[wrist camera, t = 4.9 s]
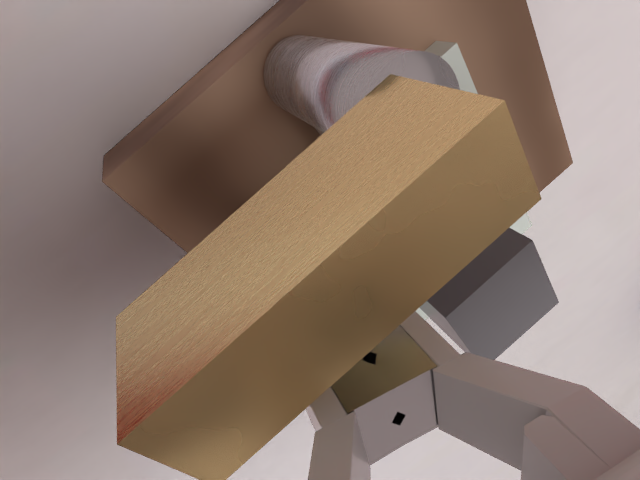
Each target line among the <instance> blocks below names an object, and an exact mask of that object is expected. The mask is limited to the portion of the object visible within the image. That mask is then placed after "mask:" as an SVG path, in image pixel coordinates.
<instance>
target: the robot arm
mask: <svg viewBox="0 0 640 480" xmlns="http://www.w3.org/2000/svg"><path fill="white" fill-rule="evenodd" d="M306 411H307V413H308V415H309V418H310V420H311V423H312V425H313V427H314V429H315V431H316V432H315V437H314V443H313V450H312V456H311V463H310V469H309V476H308V480H370V469H371V468H370V465H372V464H373V463H375V462H376V461H378V460H380V459H381V458H383V457H385V456H386V455H388V454H390V453H391V452H393V451H395V450H396V449H398V448H400V447H401V446H403V445H405V444H407V443H409V442H410V441H412V440H414V439H416V438H418V437H420V436H422V435H424V434H426V433H427V432H429V431H431V430H433V429H435V428H437V427H439V429H440V430H442V431H444V432H446V433H448V434H450V435H452V436H454V437H456V438H458V439H460V440H462V441H464V442H466V443H468V444H470V445H472V446H474V447H476V448H477V449H479V450H481V451H483V452H485V453H487V454H489V455H491V456H493V457H495V458H497V459H499V460H501V461H503V462H505V463H507V464H509V465H511V466H513V467H515V468H517V469H519V470H521V480H640V429H639V428H638V427H636V426H635V425H634V424H632V423H631V422H630V421H629V420H627V419H626V418H625V417H624V416H622V415H621V414H620V413H619V412H617V411H616V410H615V409H614V408H612V407H611V406H610V405H609V404H607V403H606V402H605V401H604V400H602V399H601V398H600V397H598V396H597V395H596V394H595V393H593V392H592V391H591V390H590V389H588V388H587V387H585V386H582V385H578V384H575V383H572V382H568V381H565V380H561V379H558V378H554V377H551V376H547V375H544V374H540V373H537V372H533V371H530V370H527V369H523V368H520V367H516V366H513V365H509V364H506V363H502V362H499V361H495V360H492V359H489V358H485V357H482V356H478V355H475V354H471V353H468V352H465V353H463V354H461V355H460V354H459V353H458V352H457V351H456V350H455V349H454V348H453V347H452V346H451V345H450V344H449V343H448V342H447V341H446V340H445V339H444V338H443V337H442V336H441V335H439V334H438V333H437V332H436V331H435V330H434V329H433V328H432V327H431V326H430V325H429V324H428V323H427V322H426V321H425V320H424V319H423V318H422V317H421V316H420V315H419V314H418V313H417V312H414V313H413V314H411V315H410V316H409V317H408V318H407V319H406V320H405V321H404V322H402V323H401V324H400V325H399V326H398V327H397V328H396V329H395V330H393V331H392V332H391V333H390V334H389V335H388V336H387V337H386V338H384V339H383V340H382V341H381V342H380V343H379V344H378V345H377V346H376V347H374V348H373V349H372V350H371V351H370V352H369V353H368V354H367V355H365V356H364V357H363V358H362V359H361V360H360V361H359V362H358V363H356V364H355V365H354V366H353V367H352V368H351V369H350V370H349V371H347V372H346V373H345V374H344V375H343V376H342V377H341V378H340V379H338V380H337V381H336V382H335V383H334V384H333V385H332V386H331V387H329V388H328V389H327V390H326V391H325V392H324V393H323V394H322V395H320V396H319V397H318V398H317V399H316V400H315V401H314V402H313V403H311V404H310V405H309V406H308V407H307V408H306Z"/></svg>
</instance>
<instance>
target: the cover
mask: <svg viewBox="0 0 640 480" xmlns="http://www.w3.org/2000/svg"><path fill="white" fill-rule="evenodd" d="M425 51H426V52H430V53H434V54H436V55H438V56H440V57H441V58H442V59H444V60H445V61H446V62H447V63H448V64H449V65H450V67H451V68H452V69H453V71H454V73H455V75H456V77H457V80H458V83H459V88H460V90H462V91H466V92H471V93H475V94H478V93H477V90H476V88H475V86H474V83H473V81H472V78H471V76H470V73H469V71H468V69H467V66H466V64H465V61H464V59H463V56H462V54H461V52H460V49H459V47H458V44H457V43H454V42H444V41H435V42H434V43H433V44H432V45H431V46H430V47H428V48H427V49H426V50H425ZM531 226H532V224H531V221H530V219H529V216H528V214H527V212H526V213H525V214H524V215H523V216H522V217H521V218H519V219H518V220H517V221H516V222H515V223H514V224H513V225H512V226H510V227H509V228H508V229H507V230H506V231H505V232H504V233H503V234H501V235H500V236H499V237H498V238H497V239H496V240H495V241H494V242H492V243H491V244H490V245H489V246H488V247H487V248H486V249H485V250H483V251H482V252H481V253H480V254H479V255H478V256H477V257H476V258H474V259H473V260H472V261H471V262H470V263H469V264H468V265H467V266H465V267H464V268H463V269H462V270H461V271H460V272H459V273H458V274H456V275H455V276H454V277H453V278H452V279H451V280H450V281H449V282H447V283H446V284H445V285H444V286H443V287H442V288H441V289H440V290H438V291H437V292H436V293H435V294H434V295H433V296H432V297H431V298H429V299H428V300H427V301H426V302H425V303H424V304H423V305H422V306H420V307H419V308H418V309H417V310H416V311H415V312H417V313H418V314H419V315H420V316H421V317H422V318H423V319H424V320H426V319H428V318H430V319H432V320H433V321H434V322H435V323H436V324H437V325H438V326H439V327H440V328H441V329H442V330H443V331H444V332H445V333H446V334H447V335H448V336H449V337H450V338H451V339H452V340H453V341H454V342H455V343H456V344H457V345H458V346H459V347H460V348H461V349H462V350H463V351H464V352H468V353H471V354H475V355H478V356H482V357H485V358H489V359H492V360H495V359H496V358H497V357H498V356H499V355H500V354H502V353H503V352H504V351H505V350H506V349H507V348H508V347H509V346H510V345H512V344H513V343H514V342H515V341H516V340H517V339H518V338H519V337H521V336H522V335H523V334H524V333H525V332H526V331H527V330H528V329H530V328H531V327H532V326H533V325H534V324H535V323H536V322H537V321H539V320H540V319H541V318H542V317H543V316H544V315H545V314H546V313H547V312H549V311H550V310H551V309H552V308H553V307H554V306H555V305H556V304H558V303H559V302H558V299H557V297H556V294H555V292H554V290H553V287H552V285H551V283H550V280H549V278H548V276H547V273H546V271H545V269H544V266H543V264H542V262H541V259H540V257H539V254H538V252H537V250H536V247H535V245H534V243H533V240H531V239H529V238H527V237H526V236H524V235H522V234H523V233H524V232H525V231H526V230H528V229H529V228H530V227H531Z"/></svg>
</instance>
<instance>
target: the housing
mask: <svg viewBox="0 0 640 480" xmlns="http://www.w3.org/2000/svg"><path fill="white" fill-rule="evenodd" d="M294 35H304V36H312V37H319V38H327V39H335V40H342V41H350V42H357V43H365V44H373V45H380V46H388V47H396V48H403V49H411V50H419V51H425V50H426V49H427V48H428V47H430V46H431V45H432V44H433V43H434V42H435V41H444V42H454V43H457V44H458V47H459V49H460V52H461V54H462V56H463V59H464V61H465V64H466V66H467V69H468V71H469V73H470V76H471V78H472V81H473V83H474V86H475V88H476V90H477V93H478V94H480V95H484V96H488V97H493V98H497V99H501V100H505V102H506V105H507V108H508V110H509V113H510V116H511V118H512V121H513V124H514V126H515V129H516V132H517V134H518V137H519V140H520V142H521V145H522V148H523V150H524V153H525V156H526V159H527V161H528V164H529V167H530V169H531V172H532V175H533V177H534V180H535V183H536V185H537V188H538V191H539V193H540V192H541V191H542V190H543V189H544V188H545V187H546V186H547V185H549V184H550V183H551V182H552V181H553V180H554V179H555V178H556V177H558V176H559V175H560V174H561V173H562V172H563V171H564V170H565V169H567V168H568V167H569V166H570V165H571V164H572V163H573V161H572V158H571V154H570V151H569V147H568V144H567V140H566V137H565V134H564V130H563V127H562V123H561V120H560V116H559V113H558V109H557V106H556V102H555V99H554V96H553V92H552V89H551V85H550V82H549V78H548V75H547V71H546V68H545V64H544V61H543V58H542V54H541V51H540V47H539V44H538V40H537V37H536V33H535V30H534V27H533V23H532V20H531V16H530V13H529V9H528V6H527V2H526V0H280V1H279V2H277V3H276V4H275V5H274V6H273V7H272V8H271V9H269V10H268V11H267V12H266V13H265V14H264V15H263V16H262V17H260V18H259V19H258V20H257V21H256V22H255V23H254V24H252V25H251V26H250V27H249V28H248V29H247V30H246V31H245V32H243V33H242V34H241V35H240V36H239V37H238V38H237V39H235V40H234V41H233V42H232V43H231V44H230V45H229V46H228V47H226V48H225V49H224V50H223V51H222V52H221V53H220V54H218V55H217V56H216V57H215V58H214V59H213V60H212V61H211V62H209V63H208V64H207V65H206V66H205V67H204V68H203V69H201V70H200V71H199V72H198V73H197V74H196V75H195V76H194V77H192V78H191V79H190V80H189V81H188V82H187V83H186V84H184V85H183V86H182V87H181V88H180V89H179V90H178V91H177V92H175V93H174V94H173V95H172V96H171V97H170V98H169V99H167V100H166V101H165V102H164V103H163V104H162V105H161V106H160V107H158V108H157V109H156V110H155V111H154V112H153V113H152V114H151V115H149V116H148V117H147V118H146V119H145V120H144V121H143V122H141V123H140V124H139V125H138V126H137V127H136V128H135V129H134V130H132V131H131V132H130V133H129V134H128V135H127V136H126V137H124V138H123V139H122V140H121V141H120V142H119V143H118V144H117V145H115V146H114V147H113V148H112V149H111V150H110V151H109V152H107V153H106V154H105V155H104V159H103V174H102V182H103V183H104V184H105V185H107V186H108V187H109V188H110V189H111V190H113V191H114V192H115V193H116V194H117V195H119V196H120V197H121V198H122V199H123V200H125V201H126V202H127V203H128V204H129V205H131V206H132V207H133V208H134V209H135V210H137V211H138V212H139V213H140V214H141V215H143V216H144V217H145V218H146V219H147V220H149V221H150V222H151V223H152V224H153V225H155V226H156V227H157V228H158V229H159V230H161V231H162V232H163V233H164V234H165V235H167V236H168V237H169V238H170V239H171V240H173V241H174V242H175V243H176V244H177V245H179V246H180V247H181V248H182V249H183V250H185V251H186V252H187V253H189V252H190V251H191V250H192V249H193V248H194V247H196V246H197V245H198V244H199V243H200V242H201V241H202V240H203V239H205V238H206V237H207V236H208V235H209V234H210V233H211V232H213V231H214V230H215V229H216V228H217V227H218V226H219V225H220V224H222V223H223V222H224V221H225V220H226V219H227V218H228V217H229V216H231V215H232V214H233V213H234V212H235V211H236V210H237V209H239V208H240V207H241V206H242V205H243V204H244V203H245V202H246V201H248V200H249V199H250V198H251V197H252V196H253V195H254V194H255V193H257V192H258V191H259V190H260V189H261V188H262V187H263V186H264V185H266V184H267V183H268V182H269V181H270V180H271V179H272V178H274V177H275V176H276V175H277V174H278V173H279V172H280V171H281V170H283V169H284V168H285V167H286V166H287V165H288V164H289V163H290V162H292V161H293V160H294V159H295V158H296V157H297V156H298V155H299V154H301V153H302V152H303V151H304V150H305V149H306V148H307V147H309V146H310V145H311V144H312V143H313V142H314V141H315V140H316V139H318V138H319V137H320V134H319V133H318V131H317V130H316V129H315V127H313V126H311V125H310V124H308V123H306V122H304V121H303V120H301V119H299V118H298V117H296V116H294V115H292V114H291V113H289V112H287V111H286V110H284V109H282V108H281V107H279V106H278V105H277V104H275V103H274V101H273V100H272V99H271V98H270V96H269V94H268V92H267V90H266V87H265V83H264V66H265V62H266V59H267V57H268V55H269V53H270V51H271V50H272V48H273V47H274V46H275V45H276V44H277V43H278V42H280V41H281V40H283V39H284V38H287V37H289V36H294Z"/></svg>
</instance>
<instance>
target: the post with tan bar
mask: <svg viewBox="0 0 640 480" xmlns="http://www.w3.org/2000/svg"><path fill="white" fill-rule="evenodd" d="M264 83H265V87H266V90H267V92H268V94H269V96H270V98H271V99H272V100H273V101H274V103H275V104H277V105H278V106H279V107H281V108H282V109H284V110H286V111H287V112H289V113H291V114H292V115H294V116H296V117H298V118H299V119H301V120H303V121H304V122H306V123H308V124H310V125H311V126H313V127H315V129H316V130H317V131H318V133H319V134H320V137H319V138H318V139H316V140H315V141H314V142H313V143H312V144H311V145H310V146H309V147H307V148H306V149H305V150H304V151H303V152H302V153H301V154H299V155H298V156H297V157H296V158H295V159H294V160H293V161H292V162H290V163H289V164H288V165H287V166H286V167H285V168H284V169H283V170H281V171H280V172H279V173H278V174H277V175H276V176H275V177H274V178H272V179H271V180H270V181H269V182H268V183H267V184H266V185H264V186H263V187H262V188H261V189H260V190H259V191H258V192H257V193H255V194H254V195H253V196H252V197H251V198H250V199H249V200H248V201H246V202H245V203H244V204H243V205H242V206H241V207H240V208H239V209H237V210H236V211H235V212H234V213H233V214H232V215H231V216H229V217H228V218H227V219H226V220H225V221H224V222H223V223H222V224H220V225H219V226H218V227H217V228H216V229H215V230H214V231H213V232H211V233H210V234H209V235H208V236H207V237H206V238H205V239H203V240H202V241H201V242H200V243H199V244H198V245H197V246H196V247H194V248H193V249H192V250H191V251H190V252H189V253H188V254H187V255H185V256H184V257H183V258H182V259H181V260H180V261H179V262H178V263H176V264H175V265H174V266H173V267H172V268H171V269H170V270H168V271H167V272H166V273H165V274H164V275H163V276H162V277H161V278H159V279H158V280H157V281H156V282H155V283H154V284H153V285H152V286H150V287H149V288H148V289H147V290H146V291H145V292H144V293H143V294H141V295H140V296H139V297H138V298H137V299H136V300H135V301H133V302H132V303H131V304H130V305H129V306H128V307H127V308H126V309H124V310H123V311H122V312H121V313H120V314H119V315H118V316H117V317H116V376H117V445H120V446H122V447H124V448H127V449H129V450H131V451H134V452H136V453H138V454H141V455H143V456H145V457H148V458H150V459H152V460H155V461H157V462H160V463H162V464H164V465H167V466H169V467H171V468H174V469H176V470H178V471H181V472H183V473H185V474H188V475H190V476H192V477H195V478H197V479H199V480H226V479H227V478H228V477H229V476H231V475H232V474H233V473H234V472H235V471H236V470H237V469H238V468H239V467H241V466H242V465H243V464H244V463H245V462H246V461H247V460H248V459H250V458H251V457H252V456H253V455H254V454H255V453H256V452H257V451H259V450H260V449H261V448H262V447H263V446H264V445H265V444H266V443H268V442H269V441H270V440H271V439H272V438H273V437H274V436H275V435H277V434H278V433H279V432H280V431H281V430H282V429H283V428H284V427H286V426H287V425H288V424H289V423H290V422H291V421H292V420H293V419H295V418H296V417H297V416H298V415H299V414H300V413H301V412H302V411H304V410H305V409H306V408H307V407H308V406H309V405H310V404H311V403H313V402H314V401H315V400H316V399H317V398H318V397H319V396H320V395H322V394H323V393H324V392H325V391H326V390H327V389H328V388H329V387H331V386H332V385H333V384H334V383H335V382H336V381H337V380H338V379H340V378H341V377H342V376H343V375H344V374H345V373H346V372H347V371H349V370H350V369H351V368H352V367H353V366H354V365H355V364H356V363H358V362H359V361H360V360H361V359H362V358H363V357H364V356H365V355H367V354H368V353H369V352H370V351H371V350H372V349H373V348H374V347H376V346H377V345H378V344H379V343H380V342H381V341H382V340H383V339H384V338H386V337H387V336H388V335H389V334H390V333H391V332H392V331H393V330H395V329H396V328H397V327H398V326H399V325H400V324H401V323H402V322H404V321H405V320H406V319H407V318H408V317H409V316H410V315H411V314H413V313H414V312H415V311H416V310H417V309H418V308H419V307H420V306H422V305H423V304H424V303H425V302H426V301H427V300H428V299H429V298H431V297H432V296H433V295H434V294H435V293H436V292H437V291H438V290H440V289H441V288H442V287H443V286H444V285H445V284H446V283H447V282H449V281H450V280H451V279H452V278H453V277H454V276H455V275H456V274H458V273H459V272H460V271H461V270H462V269H463V268H464V267H465V266H467V265H468V264H469V263H470V262H471V261H472V260H473V259H474V258H476V257H477V256H478V255H479V254H480V253H481V252H482V251H483V250H485V249H486V248H487V247H488V246H489V245H490V244H491V243H492V242H494V241H495V240H496V239H497V238H498V237H499V236H500V235H501V234H503V233H504V232H505V231H506V230H507V229H508V228H509V227H510V226H512V225H513V224H514V223H515V222H516V221H517V220H518V219H519V218H521V217H522V216H523V215H524V214H525V213H526V212H527V211H528V210H530V209H531V208H532V207H533V206H534V205H535V204H536V203H537V202H538V201H540V200H541V196H540V193H539V191H538V188H537V185H536V183H535V180H534V177H533V175H532V172H531V169H530V167H529V164H528V161H527V159H526V156H525V153H524V150H523V148H522V145H521V142H520V140H519V137H518V134H517V132H516V129H515V126H514V124H513V121H512V118H511V116H510V113H509V110H508V108H507V105H506V102H505V100H501V99H497V98H493V97H488V96H484V95H480V94H475V93H471V92H466V91H462V90H460V88H459V83H458V80H457V77H456V75H455V73H454V71H453V69H452V68H451V67H450V65H449V64H448V63H447V62H446V61H445V60H444V59H442V58H441V57H440V56H438V55H436V54H434V53H430V52H426V51H419V50H411V49H403V48H396V47H388V46H380V45H373V44H365V43H357V42H350V41H342V40H335V39H327V38H319V37H312V36H304V35H294V36H289V37H287V38H284V39H283V40H281V41H280V42H278V43H277V44H276V45H275V46H274V47H273V48H272V50H271V51H270V53H269V55H268V57H267V59H266V62H265V66H264Z"/></svg>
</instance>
